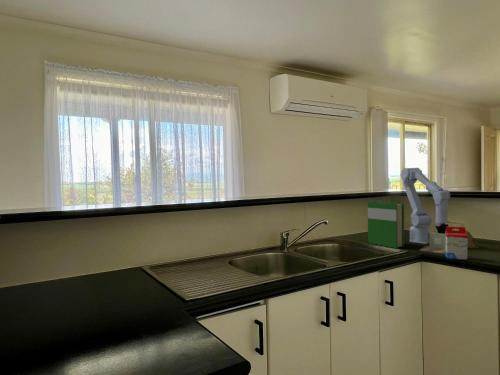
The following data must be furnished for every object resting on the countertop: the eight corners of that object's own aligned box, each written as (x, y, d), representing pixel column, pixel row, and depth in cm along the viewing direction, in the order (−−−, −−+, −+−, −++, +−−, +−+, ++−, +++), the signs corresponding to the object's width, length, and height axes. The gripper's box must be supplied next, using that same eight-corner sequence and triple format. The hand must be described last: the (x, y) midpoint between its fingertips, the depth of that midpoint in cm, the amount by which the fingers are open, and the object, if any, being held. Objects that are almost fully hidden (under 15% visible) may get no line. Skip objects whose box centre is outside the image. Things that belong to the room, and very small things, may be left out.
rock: (483, 243, 188) (464, 237, 197) (480, 231, 184) (461, 226, 193) (472, 257, 185) (453, 251, 193) (469, 246, 181) (450, 240, 190)
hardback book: (404, 247, 194) (404, 203, 193) (396, 249, 189) (396, 204, 188) (375, 242, 208) (375, 201, 207) (368, 244, 204) (367, 202, 202)
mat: (418, 250, 185) (418, 249, 185) (426, 246, 194) (426, 246, 194) (445, 254, 176) (445, 253, 176) (452, 249, 185) (452, 249, 185)
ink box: (446, 258, 167) (446, 227, 166) (445, 256, 172) (445, 226, 171) (467, 260, 164) (467, 228, 163) (465, 257, 169) (465, 227, 168)
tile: (429, 247, 190) (429, 232, 189) (430, 247, 191) (430, 232, 191) (445, 249, 184) (445, 234, 184) (446, 249, 185) (446, 233, 185)
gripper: (445, 214, 183) (445, 240, 184) (453, 211, 193) (453, 236, 194) (431, 213, 188) (431, 239, 189) (439, 210, 198) (439, 235, 199)
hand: (441, 237), depth 192 cm, fingers closed
